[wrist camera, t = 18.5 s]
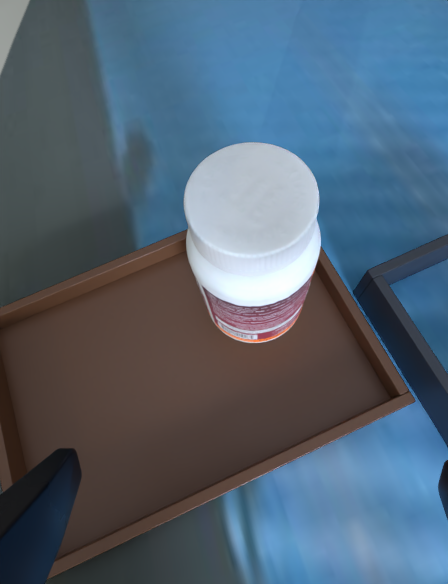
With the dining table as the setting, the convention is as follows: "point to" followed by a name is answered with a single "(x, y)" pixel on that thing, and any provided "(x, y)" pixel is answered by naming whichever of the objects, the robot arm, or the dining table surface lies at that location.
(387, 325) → the tray
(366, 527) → the dining table surface
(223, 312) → the pill bottle
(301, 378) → the tray
